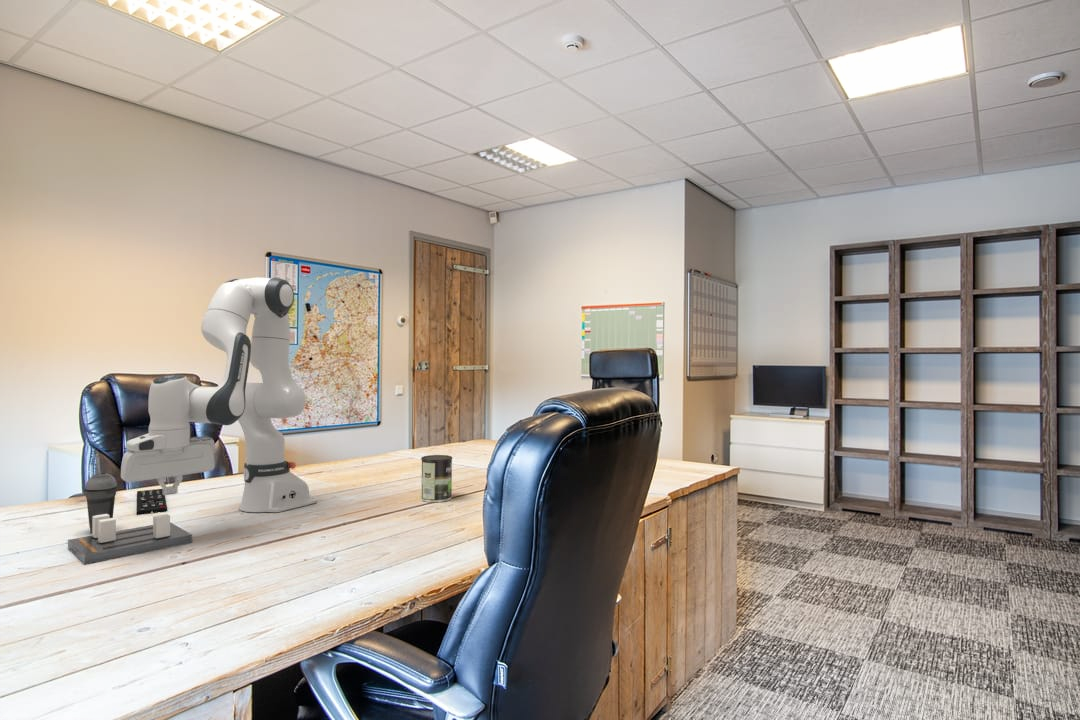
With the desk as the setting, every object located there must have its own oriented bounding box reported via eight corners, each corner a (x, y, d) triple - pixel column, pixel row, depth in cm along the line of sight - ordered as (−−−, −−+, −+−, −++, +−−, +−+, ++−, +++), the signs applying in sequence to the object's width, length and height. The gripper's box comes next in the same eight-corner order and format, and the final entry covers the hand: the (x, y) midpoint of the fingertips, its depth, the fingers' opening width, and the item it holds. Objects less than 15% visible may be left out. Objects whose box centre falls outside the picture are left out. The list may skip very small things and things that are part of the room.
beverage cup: (99, 536, 154) (100, 459, 154) (76, 534, 156) (77, 458, 156) (124, 528, 161) (124, 455, 161) (102, 526, 163) (102, 454, 163)
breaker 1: (106, 533, 149) (107, 513, 149) (109, 535, 147) (109, 515, 147) (92, 536, 147) (92, 516, 147) (94, 538, 145) (94, 517, 145)
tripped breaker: (166, 533, 149) (166, 514, 149) (170, 535, 148) (170, 515, 148) (153, 536, 147) (153, 516, 147) (156, 538, 145) (156, 518, 145)
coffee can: (454, 495, 204) (454, 454, 204) (449, 502, 193) (449, 459, 193) (424, 495, 204) (424, 454, 204) (417, 502, 194) (418, 459, 194)
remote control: (136, 517, 174) (136, 510, 174) (137, 495, 201) (137, 489, 201) (167, 513, 179) (167, 507, 179) (163, 493, 205) (163, 487, 205)
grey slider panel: (169, 529, 161) (169, 521, 161) (192, 542, 150) (192, 534, 150) (67, 548, 144) (67, 539, 144) (84, 564, 133) (84, 555, 133)
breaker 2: (112, 538, 145) (113, 517, 145) (115, 540, 144) (115, 519, 144) (98, 540, 143) (98, 520, 143) (100, 542, 141) (100, 522, 141)
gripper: (209, 433, 158) (209, 485, 159) (118, 442, 143) (118, 499, 144) (218, 436, 154) (218, 488, 155) (125, 445, 139) (126, 504, 139)
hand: (170, 494), depth 149 cm, fingers closed
